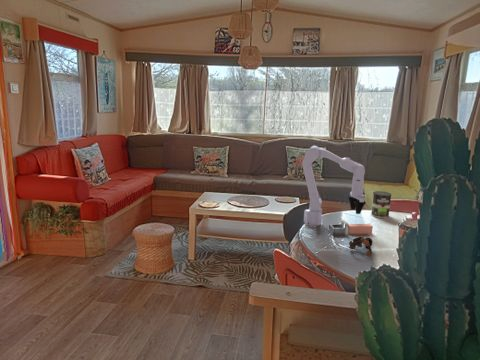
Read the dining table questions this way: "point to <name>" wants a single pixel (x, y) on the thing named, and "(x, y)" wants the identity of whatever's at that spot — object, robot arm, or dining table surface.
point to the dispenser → (342, 229)
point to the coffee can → (381, 204)
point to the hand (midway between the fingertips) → (355, 211)
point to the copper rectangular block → (360, 228)
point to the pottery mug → (359, 242)
